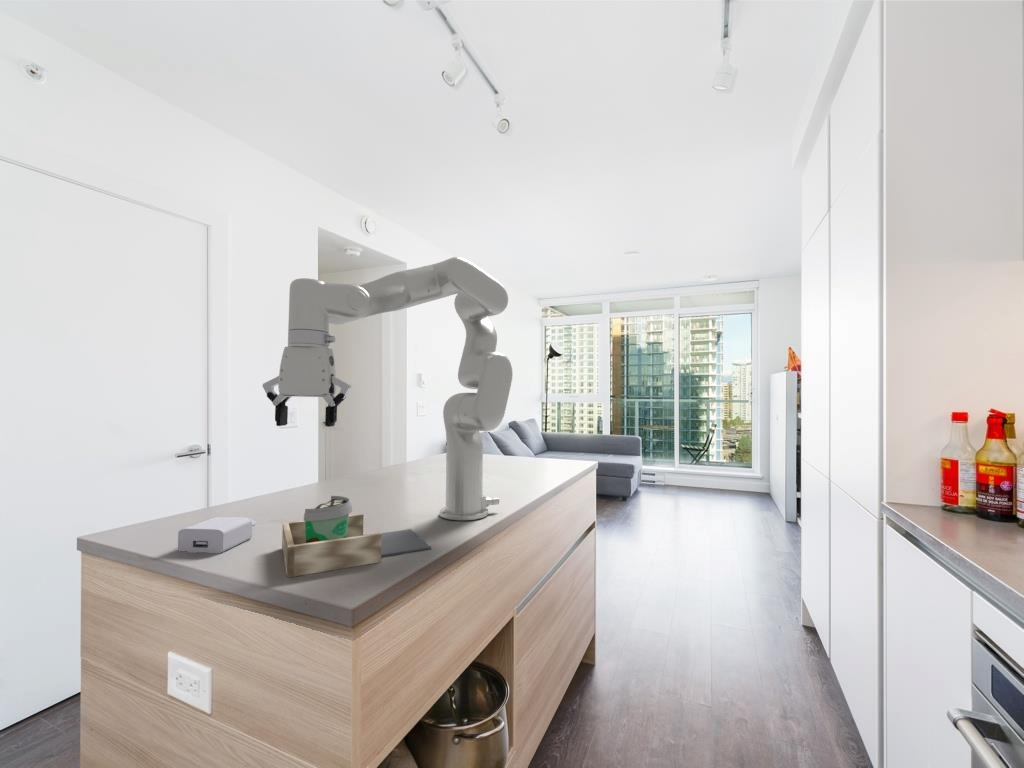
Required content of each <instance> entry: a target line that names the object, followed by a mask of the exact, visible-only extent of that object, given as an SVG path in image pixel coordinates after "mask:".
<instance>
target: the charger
mask: <svg viewBox="0 0 1024 768" xmlns="http://www.w3.org/2000/svg"><path fill="white" fill-rule="evenodd" d="M255 520H256V519H251V518H250V517H240V516H239V517H238V516H237V517H234V516H232V517H230V516H216V517H212V518H210V519H207V520H204V521H201V522H198V523H196V524H193V525H191V526H186V527H184V528H182V529H180V530H178V531H177V532H178V533H177V550H178V552H180V551H187V552H186V553H196V552H212V553H211V554H221V553H223V552H225V551H227V550H229V549H232V548H235V546H238V545H240V544H242V543H244V542H247V541H249V540H251V539H252V537H253V527H255V526H256V525H257V523H256V521H255Z"/></svg>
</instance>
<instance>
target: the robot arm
mask: <svg viewBox="0 0 1024 768" xmlns="http://www.w3.org/2000/svg"><path fill="white" fill-rule="evenodd" d="M453 295H456V296H455V298H454V302H453V303H454V309H455V312H456V313H457V315H458V317H459V318H460V320H461V321H462V324H463V326H464V329H465V342H464V347H463V349H462V354H461V359H460V361H459V366H458V372H457V379H458V381H459V384H460V385H461V386H462V387H464V388H466V389H470V390H477V392H459V393H456V394H453V395H452V396H450V397H449V398H448V399H447V400H446V401H445V403H444V406H443V411H442V412H443V413H442V414H443V415H442V417H443V423H444V428H445V438H446V439H445V440H446V446H445V447H446V455H445V456H446V458H445V462H446V463H445V465H446V467H445V507H442V508H441V509H439V512H438V513H439V514H438V515H439V517H441V518H443V519H445V520H451V521H474V520H480V519H483V518H485V517H487V516H488V515H489V509H488V508H487V507H489V506H496V505H499V504H500V497H498V496H497V497H496V496H495V497H490V496H485V495H483V492H484V491H483V487H484V486H483V483H484V481H483V475H484V473H483V472H484V465H483V464H484V445H483V443H484V442H483V439H482V435H481V432H491V431H494V430H495V429H497V428H498V427H499V426H500V425H501V424H502V421H503V419H504V416H505V413H506V410H507V409H506V408H507V404H508V401H509V395H510V391H511V387H512V383H513V382H512V381H513V366H512V363H511V361H510V359H509V358H508V356H506V355H505V354H504V353H501V352H500V351H499V352H497V351H496V349H497V343H498V334H497V331H496V329H495V326H494V324H493V322H492V320H491V318H490V317H494V316H497V315H499V314H501V313H503V312H504V311H505V310H506V308H507V307H508V304H509V303H508V302H509V295H508V292H507V290H506V288H505V287H504V285H502V284H501V282H499V281H498V280H497V279H496V278H494V277H493V276H492V275H490V274H489V273H487V272H486V271H484V270H483V269H482V268H480V267H479V266H477V265H476V264H475V263H473V262H472V261H470V260H468V259H465V258H463V257H460V256H454V257H451V258H447V259H445V260H443V261H439V262H436V263H431V264H428V265H424V266H420V267H415V268H411V269H404V270H400V271H395V272H393V273H390V274H386V275H385V276H382V277H380V278H378V279H375V280H372V281H370V282H366V283H363V284H360V285H357V284H352V283H351V284H350V283H337V282H336V283H333V282H324V281H322V280H319V279H314V278H305V277H304V278H302V277H301V278H295V279H294V280H292V281H291V282H290V284H289V295H288V296H289V297H288V298H289V301H288V303H289V304H288V325H287V327H288V328H287V329H288V332H287V346H285V347H284V348H283V351H282V355H281V361H280V365H279V374H278V376H276V377H274V378H272V379H269V380H267V381H265V382H263V384H262V388H263V390H264V391H265V394H266V397H267V398H268V399H269V400H270V401H271V402H272V405H273V406H275V408H274V409H275V411H274V420H275V422H276V424H275V425H276V426H277V427H282V426H284V427H285V426H286V425H288V419H289V418H288V417H289V416H288V413H289V410H288V409H289V407H288V405H286V403H287V402H288V401H290V399H291V398H292V397H298V398H299V397H300V398H301V397H304V398H307V397H309V398H310V397H311V398H323V399H324V401H325V402H326V403H327V405H326V407H325V417H324V418H325V422H324V423H325V424H324V426H325V427H335V424H336V423H337V420H338V407H339V406H340V404H341V403H342V402H343V401H344V400H345V399H347V396H348V394H349V392H350V390H351V389H352V385H351V384H349V383H348V382H346V381H344V380H342V379H340V378H339V377H337V375H336V374H337V373H336V361H335V355H334V350H333V349H332V348H329V347H330V344H332V343H335V342H336V336H335V335H331V334H330V325H331V324H332V325H338V326H339V325H344V324H346V323H350V322H354V321H358V320H361V319H365V318H367V317H372V316H375V315H380V314H384V313H391V312H396V311H397V312H398V311H401V310H404V309H409V308H411V307H415V306H418V305H422V304H426V303H428V302H429V303H430V302H432V301H437V300H440V299H443V298H447V297H451V296H453ZM276 386H278V394H277V393H276V391H275V387H276ZM337 386H338V387H339V388H340V391H339V393H337V395H336V392H337ZM335 395H336V396H335Z"/></svg>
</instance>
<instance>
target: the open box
mask: <svg viewBox="0 0 1024 768" xmlns="http://www.w3.org/2000/svg"><path fill="white" fill-rule="evenodd" d="M364 517H365V516H364V513H358V514H357V513H356V514H349V516H348V527H347V537H346V538H341V539H333V540H326V541H319V542H311V543H306V527H305V521H304V519H303V520H295V521H288V522H287V521H286V522H282V537H281V539H282V540H281V541H282V543H281V550H282V554H283V560H284V566H285V567H284V568H285V572H286V578H294V577H298V576H300V577H301V576H305V575H311V574H318V573H323V572H329V571H334V570H342V569H348V568H352V567H353V568H354V567H358V566H365V565H369V564H370V565H371V564H376V563H381V562H382V557H381V537H382V534H381V533H382V532H378V533H371V534H370V533H369V534H365V535H364Z"/></svg>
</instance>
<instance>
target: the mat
mask: <svg viewBox="0 0 1024 768" xmlns="http://www.w3.org/2000/svg"><path fill="white" fill-rule="evenodd" d="M380 533H381V534H382V537H381V558H384V557H390V556H397V555H402V554H408V553H407V552H410V553H413V551H416V552H419V551H418V550H422V551H426V550H425V549H428V550H432V546H431V545H429V543H427V542H426V541H425V540H424V539H422V538H421V537H420V536H419V535H418V534H417V533H415V532H414V531H413V530H412V529H411V528H409V529H408V528H407V529H403V530H394V531H387V532H380Z"/></svg>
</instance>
